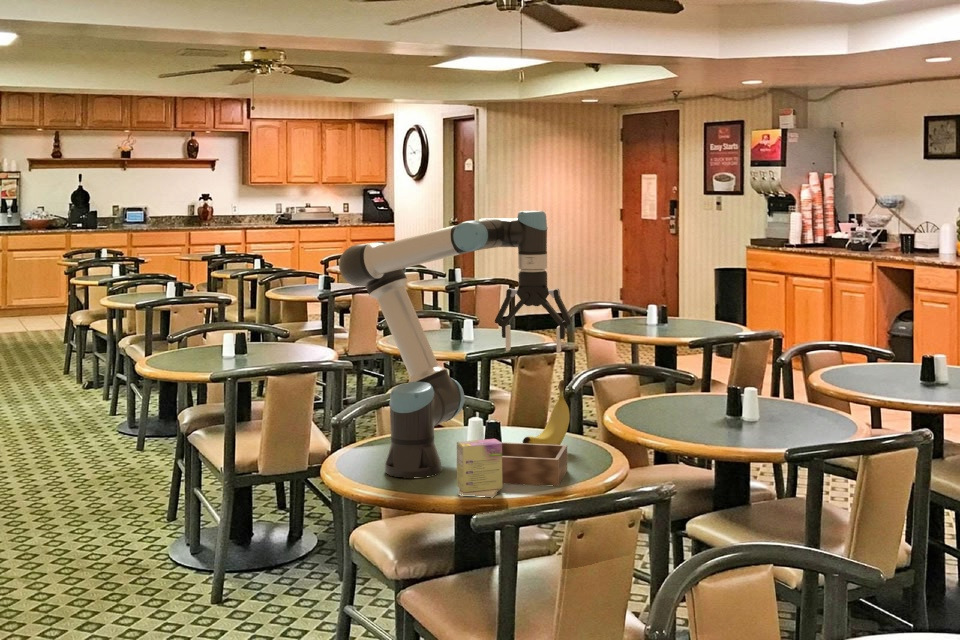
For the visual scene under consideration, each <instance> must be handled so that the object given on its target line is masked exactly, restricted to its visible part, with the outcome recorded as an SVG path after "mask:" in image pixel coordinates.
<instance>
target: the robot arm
mask: <svg viewBox="0 0 960 640" xmlns="http://www.w3.org/2000/svg"><path fill="white" fill-rule="evenodd" d="M547 224H548V223H547V214H546V212H544V211H543V210H522V211H521V210H520V211H519V212H518V213H517V217H516V218H498V217H497V218H493V217H489V218H488V217H486V218H480V219H478V220H474V219H473V220H466V221H463V222H460V223H459V224H457V225H451V226H447V227H443V228H440V229H437V230H432V231H428V232H425V233H420V234H417V235H413V236H409V237H405V238H402V239H397V240H394V241H389V242H388V241H375V242H370V243H369V242H368V243H361V244H354V245H352V246H349V247H348V248H346V249H345V250H344V252H343V253H342V254H341V255H340V258H339V263H338V268H339V271H340V272H339V273H340V274H341V276H342V278H343V280H344V281H345V282H346V283H348V284H349V285H352V286H354V287H359V288H360V287H365V288H366V289H365V290H366V291H367V293H368V296H369V297H371V298H373V299H375V300H377V303H378V306H379V308H380V310H381V313H382V315H383V317H384V319H385V322H386V323H387V326H388V327H387V328H388V329H389V331H390V333H391V335H392V337H393V340H394V341H393V342H395V345H396V347H397V349H398V352H399V354H400V357H401V359H402V361H403V364H404V366H405V368H406V371H407V373H408V375H409V380H408V382H407V383H406V382H405V383H404V382H403V383H400V384H399V385H396V386H395V387H393V388H392V389H391V391H390V393H389V394H390V395H389V417H390V422H389V423H390V447H389V449H388V453H387V457H386V460H385V462H384V463H385V465H384V472H386V473H387V474H389V475H391V476H390V477H392V476H395V477H394V478H396V477H405V478H404V479H406V478H414V477H425V478H428V477H427V476H430V477H433V476H432V475H434V476H436V475H435V474H437V475H438V473H439V474H440V473H441V472H442V461H441V459H440V455H439V452H438V449H437V446H436V444H435V426H438V425H441V424H442V423H446V422H448V421H450V420H452V419H453V418H455V417H456V416H458V415H459V414H460V413H461V411H462V409H463V407H464V405H465V393H464V389H463V387H462V385H461V384H460V382H458V381H457V380H455V379H454V378H453V377H450V375H449V372H448V371H447V369H446V367H443V366H441V365H439V364H438V361H437V359H436V357H435V353H434V352H433V349H432V348H431V345H430V342H429V340H428V338H427V335H426V332H425V331H424V329H423V327H422V324H421V322H420V320H419V317H418V314H417V312H416V310H415V308H414V305H413V302H412V301H411V299H410V297H409V294H408V291H407V288H406V285H407V282H408V278H407V275H406V272H407V268H410V267H411V268H412V267H415V266H418V265H422V264H426V263H430V262H434V261H438V260H442V259H447V258H451V257H456V256H458V255H463V254H468V253H472V252H475V251H481V250H487V249H494V248H517V252H518V253H517V255H518V257H517V258H518V262H517V263H518V266H517V268H518V269H519V270H520V271H518V273H517V274H518V288H517V289H515V288H512V287H510V288H508V289H506V294H505V298H504V301H503V302H502V304H501V307H500V308H499V311H498V313H497V314H496V317H495V318H494V323H495V324H498V325H499V326H501V337H502V338H503V339H505V351H506V352H509V351H510V350H511V346H512V343H511V340H512V339H511V338H512V337H511V335H512V334H511V331H512V330H511V325H510V324H509V322H511V320H512V319H513V318H514V316H515V315H516V314H517V313H518V311H520V309H521V308H522V307H523V306H524V305H525V306H526V307H531V306H534V307H540V306H542V307H543V309H545V310H546V312H548V314H549V315H550V316H551V318H552V319H553V320H554V321H555V322H556V324H557V325H558V326H557V327H556V353H560V352H562V340H565V338H566V326H569V325H571V324H572V323H573V320H572V317H571V316H570V315H571V314H570V313H569V312H568V310H567V308H566V305H565V304H564V301H563V300H562V298H561V292H560V291H561V290H560V289H559V288H555V289H549V288H548V272H547V271H546V270H547V269H548V225H547ZM516 295H517V296H518V298H519V301H518V302H517V303H516V305H515V306H514V307H513V308H512V309H511V311H509V313H508V314H507V315H506V317H505V318H504V315H505V314H506V311H507V309H508V307H509V305H510V303H511V301H512V298H515V296H516ZM549 295H550V296H551V298H553V299H554V301H555V303H556V306H557V308H558V310H559V311H560V313H561V315H562V317H561V316H560V314H559V313H558V312H557V310H555V308H553V306H552V305H551V304H550V302H549V301H548V300H547V298H548V296H549ZM503 318H504V319H503ZM386 473H385V474H386ZM387 474H386V475H387ZM389 475H388V476H389ZM414 479H415V478H414Z"/></svg>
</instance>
